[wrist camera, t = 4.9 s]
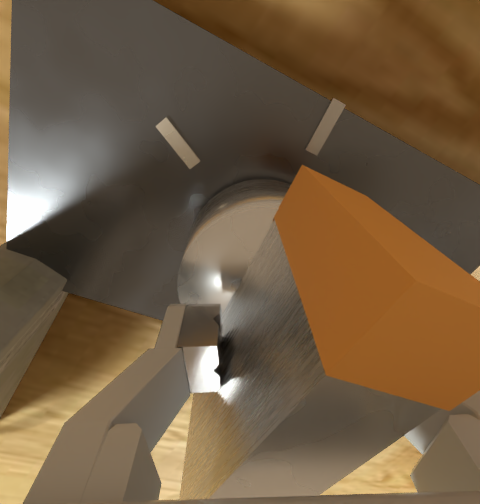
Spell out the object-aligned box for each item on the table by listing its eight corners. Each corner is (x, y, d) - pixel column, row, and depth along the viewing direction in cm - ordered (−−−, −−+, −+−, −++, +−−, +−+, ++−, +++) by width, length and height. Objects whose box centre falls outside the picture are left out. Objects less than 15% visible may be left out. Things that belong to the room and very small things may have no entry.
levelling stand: (498, 198, 13) (628, 250, 9) (350, 353, 19) (385, 431, 14) (58, -48, 9) (-121, -193, 4) (33, 252, 14) (-55, 321, 10)
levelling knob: (276, 328, 14) (318, 553, 7) (166, 293, 13) (85, 527, 6) (374, 191, 10) (649, 378, 4) (233, 121, 9) (235, 204, 2)
